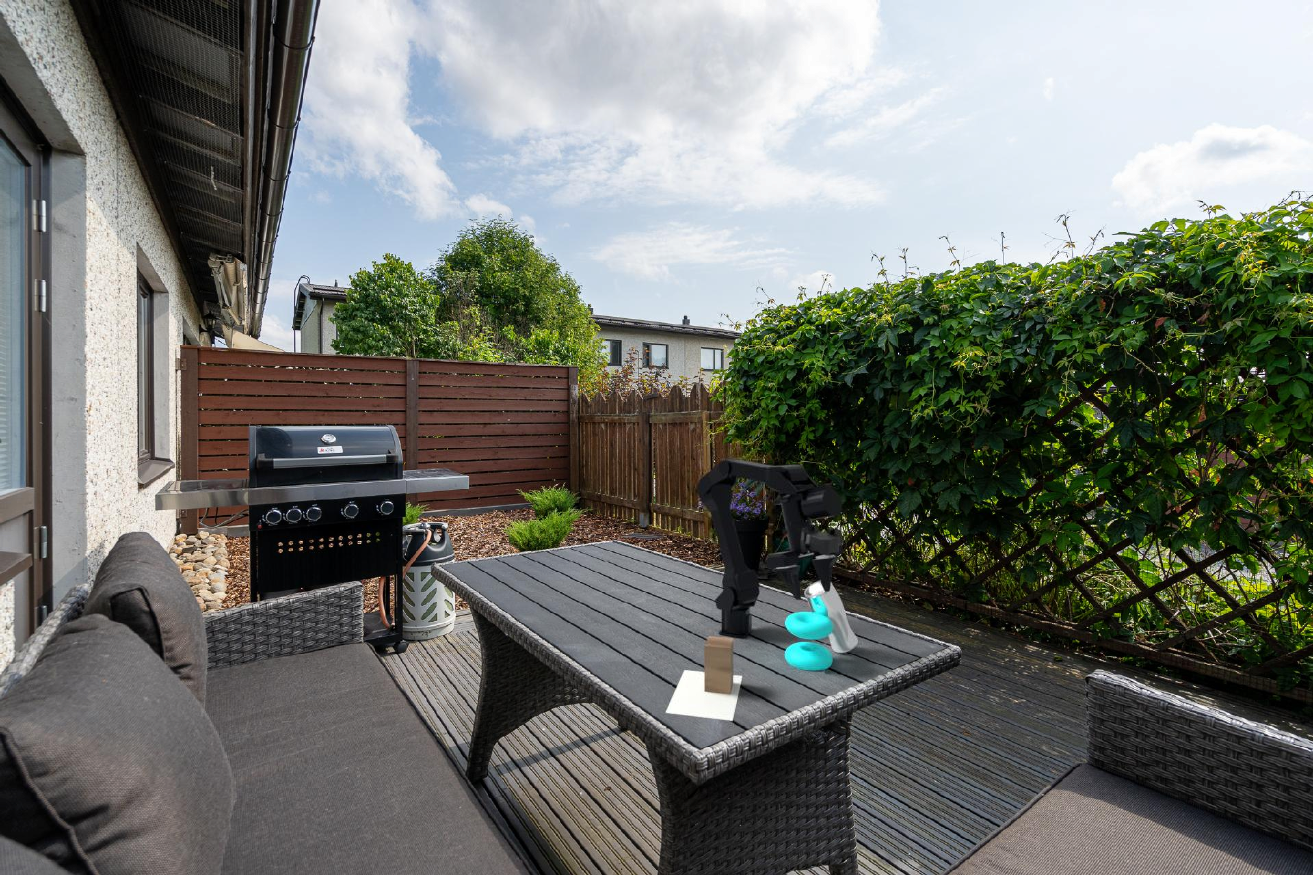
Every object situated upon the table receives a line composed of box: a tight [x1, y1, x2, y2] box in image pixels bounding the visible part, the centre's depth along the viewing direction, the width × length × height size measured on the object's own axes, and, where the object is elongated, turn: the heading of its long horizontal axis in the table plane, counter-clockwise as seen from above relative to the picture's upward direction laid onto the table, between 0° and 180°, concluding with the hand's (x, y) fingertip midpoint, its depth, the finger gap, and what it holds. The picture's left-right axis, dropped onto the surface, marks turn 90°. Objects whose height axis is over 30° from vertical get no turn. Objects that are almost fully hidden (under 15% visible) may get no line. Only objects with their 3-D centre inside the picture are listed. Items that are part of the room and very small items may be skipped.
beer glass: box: [804, 580, 859, 654], centre depth 136 cm, size 7×7×15 cm
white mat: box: [665, 669, 743, 722], centre depth 116 cm, size 18×12×1 cm, turn 166°
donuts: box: [784, 611, 834, 672], centre depth 130 cm, size 10×10×10 cm
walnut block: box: [703, 635, 734, 694], centre depth 118 cm, size 5×5×9 cm
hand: (813, 595), depth 128 cm, fingers open, 9 cm apart
